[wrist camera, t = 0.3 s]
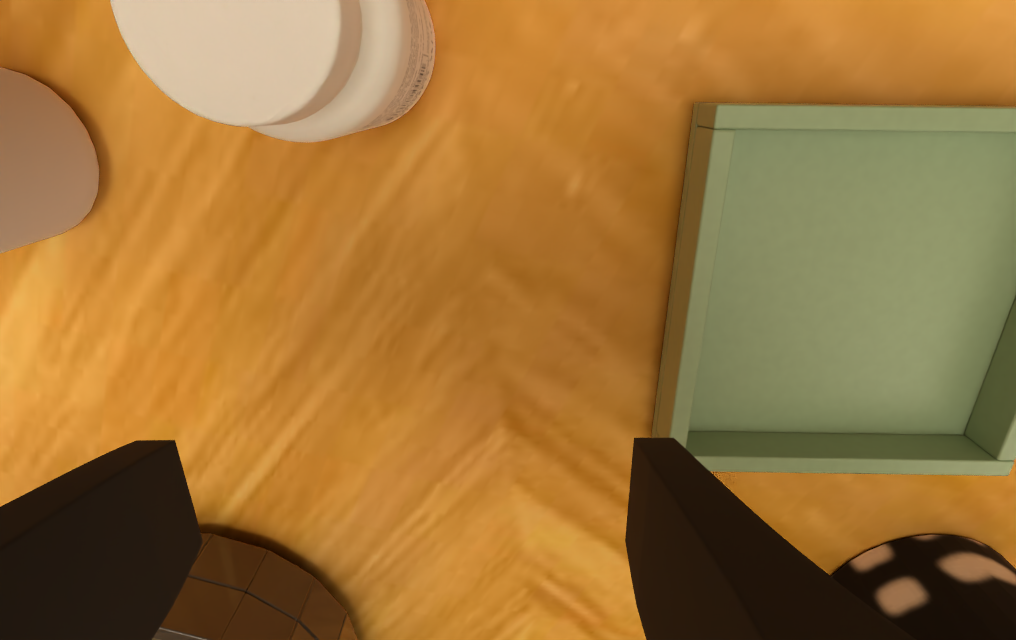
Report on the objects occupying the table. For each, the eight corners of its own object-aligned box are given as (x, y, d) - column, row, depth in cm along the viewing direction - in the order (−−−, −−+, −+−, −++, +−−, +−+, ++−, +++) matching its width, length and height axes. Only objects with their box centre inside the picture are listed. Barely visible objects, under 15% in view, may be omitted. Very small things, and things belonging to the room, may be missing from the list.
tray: (963, 441, 20) (1009, 476, 18) (650, 436, 20) (664, 471, 18) (1090, 106, 16) (1167, 109, 14) (693, 102, 16) (717, 103, 14)
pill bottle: (426, -59, 14) (342, -201, 7) (445, 121, 16) (391, 147, 9) (259, -44, 15) (17, -170, 8) (295, 133, 16) (125, 168, 9)
